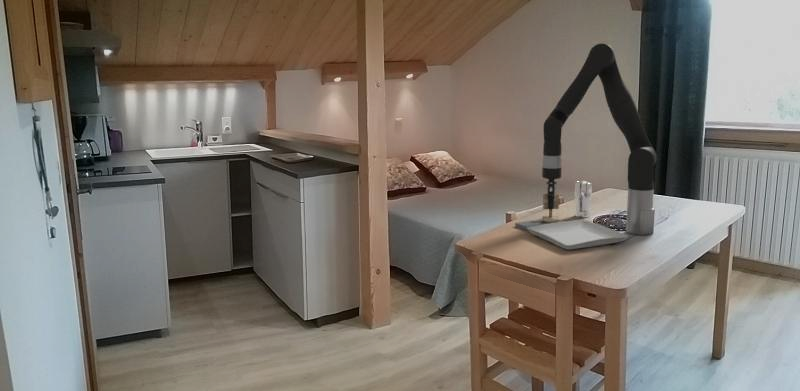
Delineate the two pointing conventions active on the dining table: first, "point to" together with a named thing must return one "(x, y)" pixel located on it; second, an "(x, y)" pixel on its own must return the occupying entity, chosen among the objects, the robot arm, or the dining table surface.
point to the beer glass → (582, 198)
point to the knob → (550, 217)
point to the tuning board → (530, 224)
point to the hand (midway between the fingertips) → (550, 207)
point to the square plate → (577, 234)
